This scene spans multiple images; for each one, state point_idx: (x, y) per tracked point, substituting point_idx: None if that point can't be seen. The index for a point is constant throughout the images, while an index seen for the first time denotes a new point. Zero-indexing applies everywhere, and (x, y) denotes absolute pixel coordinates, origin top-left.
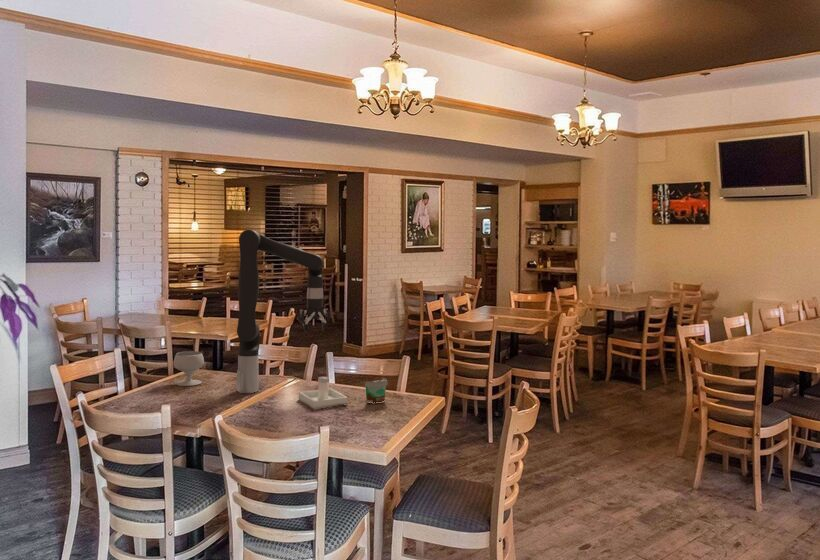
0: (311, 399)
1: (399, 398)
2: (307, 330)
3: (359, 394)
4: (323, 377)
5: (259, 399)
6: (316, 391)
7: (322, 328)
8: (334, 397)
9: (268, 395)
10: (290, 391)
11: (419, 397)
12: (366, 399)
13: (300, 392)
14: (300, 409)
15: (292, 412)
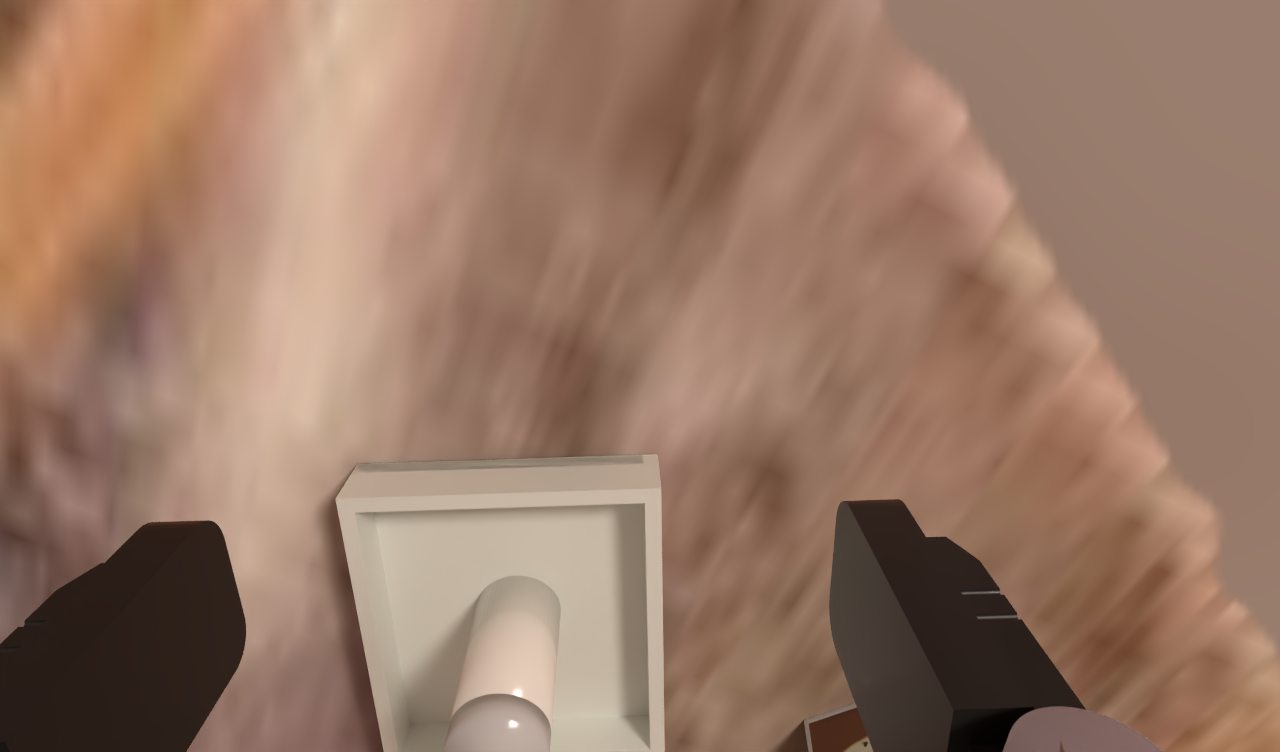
0: (382, 722)
1: (1084, 698)
2: (207, 694)
3: (897, 497)
4: (500, 749)
5: (8, 309)
6: (507, 503)
7: (860, 611)
8: (636, 573)
9: (103, 200)
10: (349, 135)
11: (1220, 724)
12: (807, 744)
13: (347, 511)
14: (312, 686)
15: (243, 725)
